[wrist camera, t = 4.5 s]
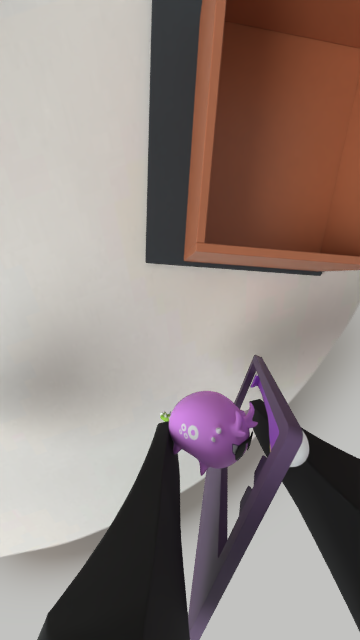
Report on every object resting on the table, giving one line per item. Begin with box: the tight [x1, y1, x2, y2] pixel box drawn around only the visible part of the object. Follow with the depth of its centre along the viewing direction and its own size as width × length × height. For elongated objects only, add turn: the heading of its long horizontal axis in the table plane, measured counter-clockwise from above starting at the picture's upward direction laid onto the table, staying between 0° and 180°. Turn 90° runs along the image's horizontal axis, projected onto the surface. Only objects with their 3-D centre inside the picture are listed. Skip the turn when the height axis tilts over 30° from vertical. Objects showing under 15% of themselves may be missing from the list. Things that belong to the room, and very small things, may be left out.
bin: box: [184, 0, 360, 271], centre depth 11 cm, size 14×11×6 cm
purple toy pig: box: [160, 355, 309, 640], centre depth 9 cm, size 7×5×9 cm
